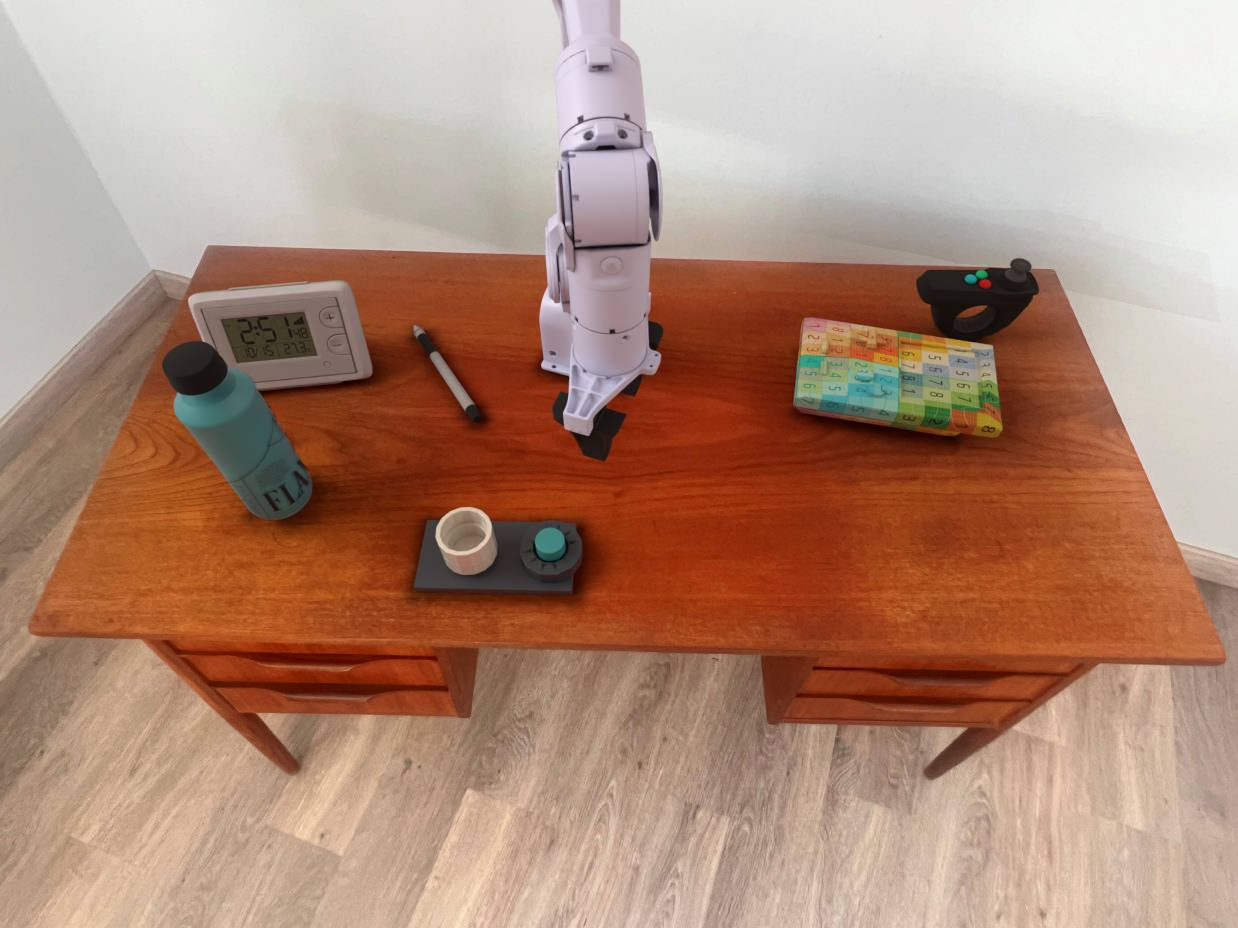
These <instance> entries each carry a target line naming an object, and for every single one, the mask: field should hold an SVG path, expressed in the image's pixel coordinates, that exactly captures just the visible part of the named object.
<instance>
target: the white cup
mask: <svg viewBox="0 0 1238 928" xmlns="http://www.w3.org/2000/svg"><path fill="white" fill-rule="evenodd" d="M439 520H440V522H439V524H438V525H437V528H436V536H435V537H436V540H437V542H438V545H439V548H440V550H441V552H442V555H443V557H444V560H445V562H446V565H447V566H448V567H449V568H450V569H451V570H452V571H453V572H456V573H459V574H462V575H474V574H477V573H480V572H482V571H484V570H486V569H487V568H488V567H489V566H490V565H491V564H492V563H493V561H494V559H495V557H496V556H497V547H498V545H497V541H496V538H495V534H494V530H493V527H492V523H491V519H490V517H489V515H488V514H486V513H485V512H484V511H483V510H481V509H479V508H476V507H473V506H465V507H464V506H463V507H457V508H455V509H453V510H450V511H449V512H447V513H446V514H445V515H444V516H442V517H441V518H440V519H439Z"/></svg>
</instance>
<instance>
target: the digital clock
mask: <svg viewBox="0 0 1238 928" xmlns="http://www.w3.org/2000/svg"><path fill="white" fill-rule="evenodd" d="M187 303H188V307H189V309H190V313H191V315H192V318H193V321H194V323H195V326H196V328H197V331H198V333H199V336H200V338H201V341H203V342H206V343H208V344H210V345H211V346H213V347H214V348H215V350H216V351H217V352H218V354H219V355H220V356H221V357H222V358H223V359H224V361H225V362H226V364H227V367H228V368H234V369H238V370H241V371H243V372H245V373H246V374H248V375H249V376H250V377H251V378H252V380H253V381H254V383H255V386H256V388H257V390H258V391H259V392H262V391H271V390H272V391H274V390H283V389H284V390H285V389H295V388H305V387H313V386H315V387H316V386H325V385H334V384H342V383H343V382H347V381H356V380H365V379H368V378H370V377H372V375H373V371H374V370H373V364H372V359H371V356H370V351H369V349H368V343H367V341H366V336H365V333H364V329H363V325H362V321H361V317H360V314H359V310H358V309H359V308H358V305H357V301H356V298H355V295H354V292H353V289H352V286H351V284H350V283H349V282H348V281H345V280H339V279H338V280H337V279H335V280H325V281H311V282H310V281H309V280H306V281H294V282H293V281H292V282H284V283H283V282H282V283H281V282H280V283H272V284H259V285H248V286H238V287H237V286H236V287H229V288H228V289H221V290H209V291H201V292H196V293H194V294H191V295H190V296H189V297H188V299H187Z"/></svg>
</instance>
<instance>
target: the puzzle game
mask: <svg viewBox="0 0 1238 928" xmlns="http://www.w3.org/2000/svg"><path fill="white" fill-rule="evenodd" d="M994 349H995V348H994V345H993V344H986V343H979V342H973V341H968V340H957V339H953V338H949V337H948V338H947V337H940V336H935V335H929V334H921V333H914V332H908V331H902V330H896V329H889V328H884V327H883V328H882V327H875V326H871V325H863V324H857V323H850V322H844V321H838V320H831V319H825V318H817V317H803V318H802V322H801V325H800V334H799V343H798V356H797V365H796V373H795V374H796V376H795V386H794V396H793V405H792V406H793V407H794V408H795V409H796V410H797V411H798V412H799V413H801V414H807V415H815V416H818V417H819V416H820V417H826V418H831V419H839V420H844V421H851V422H857V423H863V424H869V425H876V426H883V427H888V428H895V429H901V430H906V431H907V430H908V431H914V432H919V433H924V434H925V433H926V434H933V435H938V436H946V437H950V436H951V437H956V436H958V435H960V434H966V435H970V436H971V435H972V436H977V437H982V438H987V439H988V438H990V439H991V438H992V439H993V438H999V437H1000V436H1001V434H1002V433H1003V431H1004V427H1003V419H1002V411H1001V400H1000V393H999V385H998V375H997V366H996V359H995V350H994Z"/></svg>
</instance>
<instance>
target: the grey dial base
mask: <svg viewBox="0 0 1238 928" xmlns="http://www.w3.org/2000/svg"><path fill="white" fill-rule="evenodd" d="M440 520H441V519H427V520H426V524H425V529H424V534H423V538H422V543H421V549H420V554H419V559H418V563H417V569H416V574H415V579H414V583H413V589H414V592H416V593H452V594H459V593H460V594H497V595H499V594H501V595H503V594H504V595H544V596H545V595H546V596H552V595H553V596H572V595H573V592H574V591H573V590H574V575H575V573H576V572H577V571H578V569H579V568H580V566H581V565H582V563H583V551H584V548H583V540H582V537H581V536H580V535H579V533H578V531H577V523H576V522H565V521H563V520H543V521H501V520H499V521H496V520H494V521H493V520H492V521H491V520H490V521H491V523H492V527H493V530H494V534H495V538H496V541H497V545H498V547H497V556H496V557H495V559H494V561H493V563H492V564H491V565H490V566H489V567H488V568H487V569H486V570H484V571H482V572H480V573H477V574H474V575H462V574H459V573H456V572H453V571H452V570H451V569H450V568H449V567H448V566H447V565H446V562H445V560H444V557H443V555H442V552H441V550H440V548H439V545H438V542H437V540H436V537H435V536H436V528H437V525H438V524H439V522H440ZM546 528H555V529H558V530H559V531H561V532H562V534H563V535H564V538H565V547H566V549H565V553H564V554H563V556H562V557H561V558H560V559H558V560H556V561H545V560H543V559H541V558H540V557H539V556H538V554H537V551H536V545H535V538H536V536H537V534H538V533H539V532H540V531H541V530H543V529H546Z"/></svg>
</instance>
